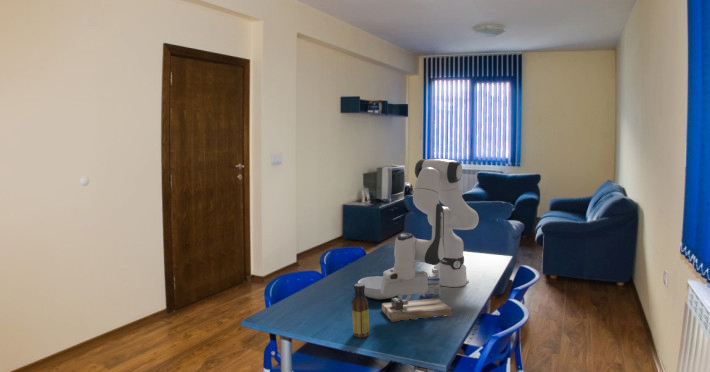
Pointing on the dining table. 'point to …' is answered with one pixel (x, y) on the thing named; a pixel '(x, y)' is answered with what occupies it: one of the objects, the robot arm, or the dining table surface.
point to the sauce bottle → (360, 312)
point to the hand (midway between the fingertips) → (404, 304)
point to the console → (416, 310)
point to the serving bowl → (373, 287)
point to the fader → (397, 303)
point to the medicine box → (432, 287)
